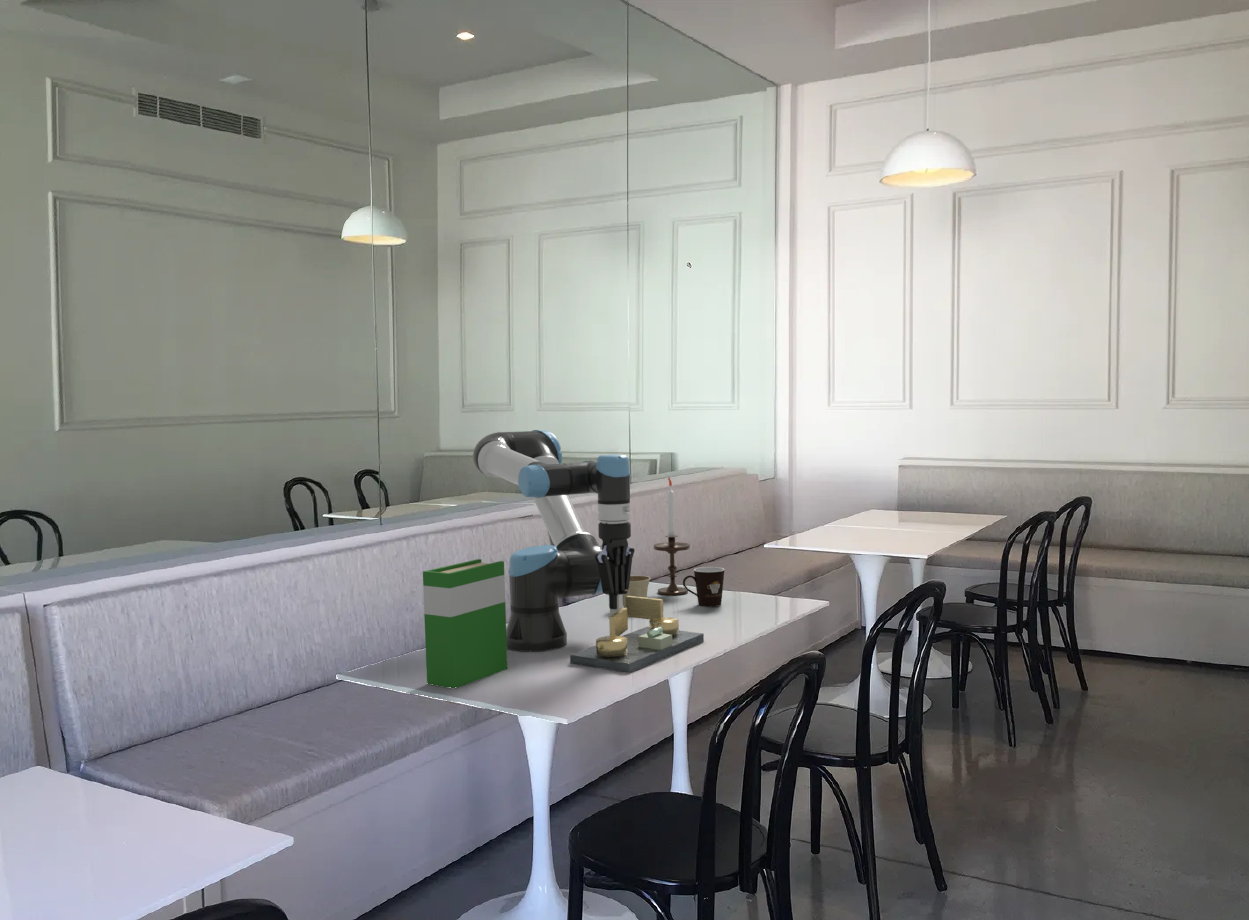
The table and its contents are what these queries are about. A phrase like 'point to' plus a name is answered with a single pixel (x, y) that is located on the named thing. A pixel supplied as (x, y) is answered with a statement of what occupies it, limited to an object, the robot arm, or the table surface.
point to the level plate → (640, 650)
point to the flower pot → (637, 587)
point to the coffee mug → (708, 585)
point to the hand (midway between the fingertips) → (616, 621)
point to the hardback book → (464, 622)
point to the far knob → (651, 613)
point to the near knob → (614, 636)
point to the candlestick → (671, 549)
